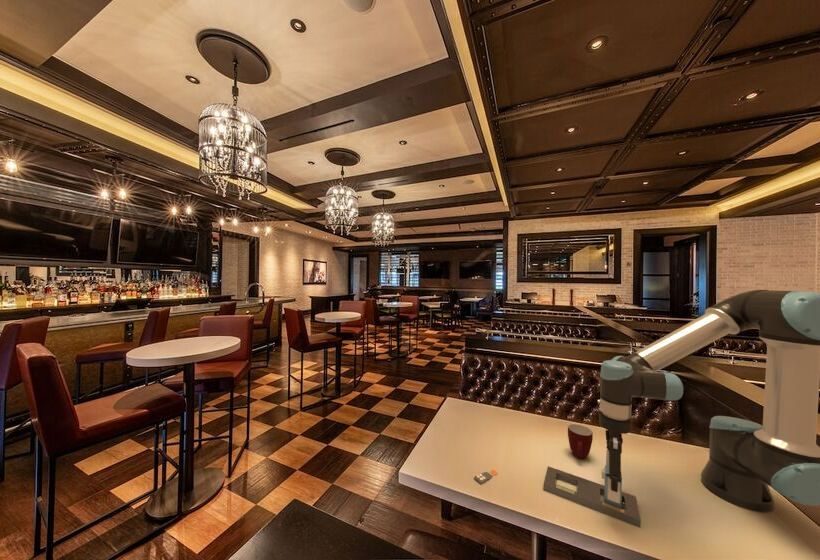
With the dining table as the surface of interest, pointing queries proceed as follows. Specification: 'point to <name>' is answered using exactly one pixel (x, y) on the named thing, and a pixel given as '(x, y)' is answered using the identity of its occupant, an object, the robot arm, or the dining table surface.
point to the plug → (604, 472)
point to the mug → (580, 440)
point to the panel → (591, 496)
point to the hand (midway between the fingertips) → (612, 485)
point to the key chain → (484, 477)
